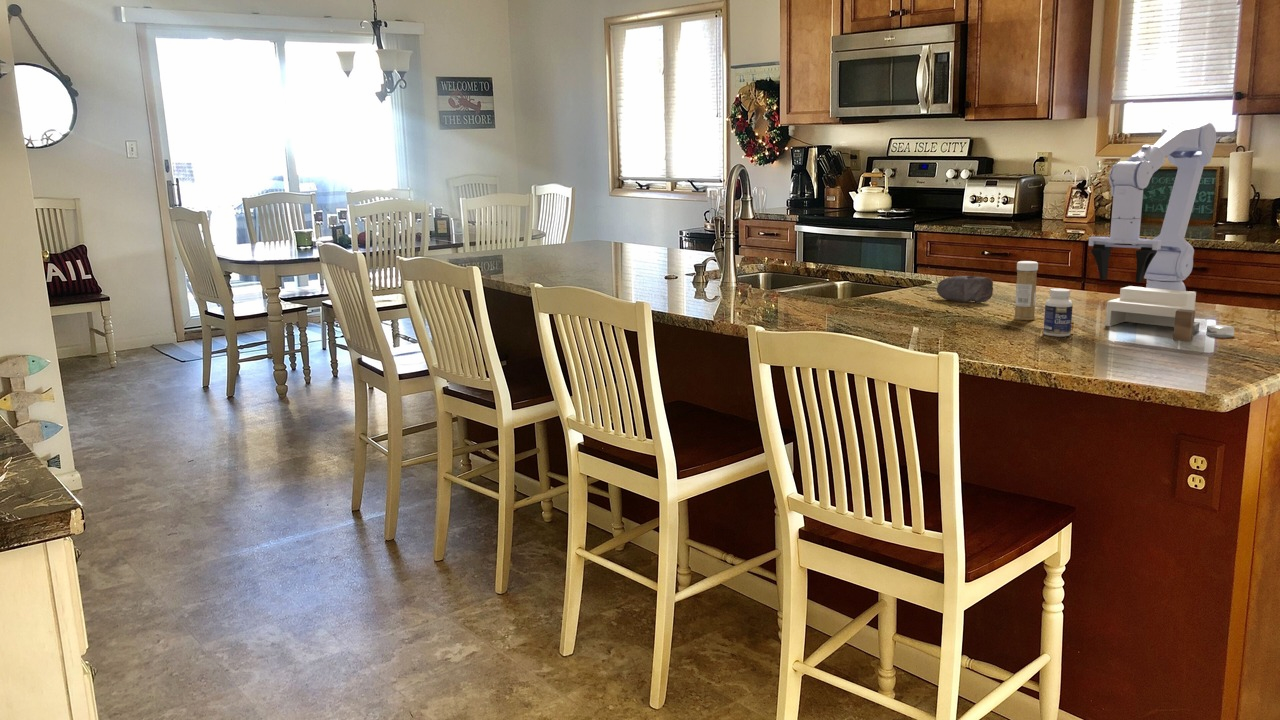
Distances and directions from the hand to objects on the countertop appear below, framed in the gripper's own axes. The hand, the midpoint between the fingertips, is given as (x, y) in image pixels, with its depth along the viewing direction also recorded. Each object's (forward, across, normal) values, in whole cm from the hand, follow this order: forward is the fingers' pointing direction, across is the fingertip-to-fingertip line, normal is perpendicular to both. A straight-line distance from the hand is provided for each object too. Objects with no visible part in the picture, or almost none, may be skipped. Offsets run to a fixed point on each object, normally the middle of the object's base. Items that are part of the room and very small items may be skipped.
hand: (1121, 280), depth 220 cm
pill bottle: (+11, -6, -16) cm, 20 cm away
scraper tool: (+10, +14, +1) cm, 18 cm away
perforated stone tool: (+11, -44, +11) cm, 47 cm away
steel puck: (+11, +19, +5) cm, 22 cm away
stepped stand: (+10, +5, +5) cm, 13 cm away
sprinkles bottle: (+11, -20, -3) cm, 23 cm away
